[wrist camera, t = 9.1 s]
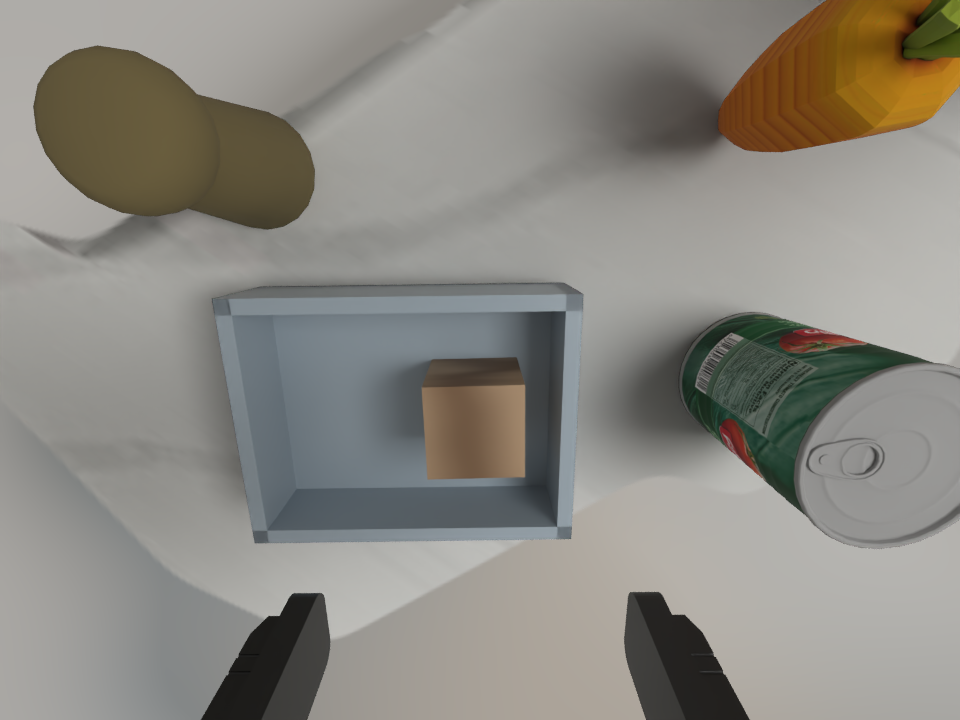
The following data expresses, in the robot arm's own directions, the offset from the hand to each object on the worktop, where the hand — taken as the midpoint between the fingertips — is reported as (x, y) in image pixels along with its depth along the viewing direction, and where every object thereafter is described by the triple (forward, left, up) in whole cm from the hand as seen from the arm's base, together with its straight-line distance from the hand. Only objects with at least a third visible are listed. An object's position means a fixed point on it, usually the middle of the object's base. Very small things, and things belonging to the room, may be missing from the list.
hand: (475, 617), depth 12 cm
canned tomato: (-16, -1, -17) cm, 24 cm away
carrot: (-13, -15, -17) cm, 26 cm away
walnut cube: (0, 0, -16) cm, 16 cm away
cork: (+12, -13, -17) cm, 24 cm away
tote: (+4, 0, -17) cm, 17 cm away
